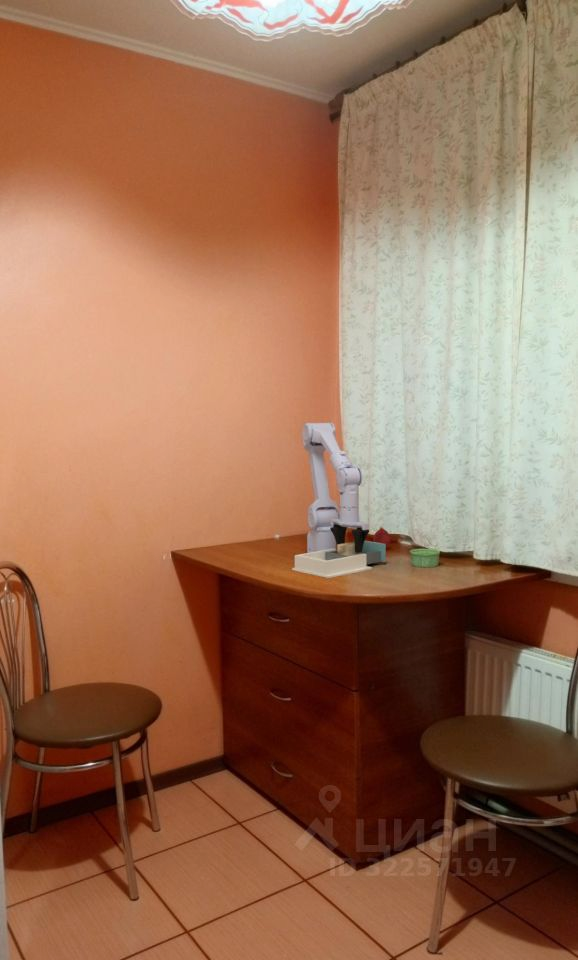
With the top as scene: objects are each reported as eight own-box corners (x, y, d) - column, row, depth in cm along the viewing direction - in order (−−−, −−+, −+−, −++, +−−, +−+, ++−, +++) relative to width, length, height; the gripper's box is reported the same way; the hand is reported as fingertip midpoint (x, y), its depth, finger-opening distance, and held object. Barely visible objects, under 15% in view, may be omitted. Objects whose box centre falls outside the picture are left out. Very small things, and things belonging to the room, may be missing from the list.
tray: (355, 556, 241) (355, 539, 241) (385, 561, 231) (385, 543, 231) (322, 562, 232) (322, 544, 231) (352, 568, 222) (352, 550, 221)
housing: (334, 561, 237) (334, 547, 237) (371, 569, 225) (371, 554, 225) (292, 570, 226) (291, 554, 225) (328, 578, 214) (328, 562, 213)
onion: (392, 548, 259) (392, 525, 258) (387, 551, 253) (387, 528, 253) (376, 547, 261) (376, 525, 260) (371, 550, 256) (371, 527, 255)
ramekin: (445, 565, 230) (445, 551, 230) (427, 569, 224) (427, 555, 224) (422, 561, 237) (422, 547, 236) (404, 565, 230) (404, 551, 230)
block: (337, 560, 230) (337, 544, 229) (351, 558, 234) (351, 542, 233) (347, 562, 226) (347, 546, 226) (361, 559, 230) (361, 543, 230)
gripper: (323, 506, 232) (324, 549, 233) (357, 510, 221) (357, 555, 222) (339, 504, 236) (340, 546, 237) (373, 507, 225) (373, 552, 226)
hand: (349, 550), depth 230 cm, fingers open, 7 cm apart
